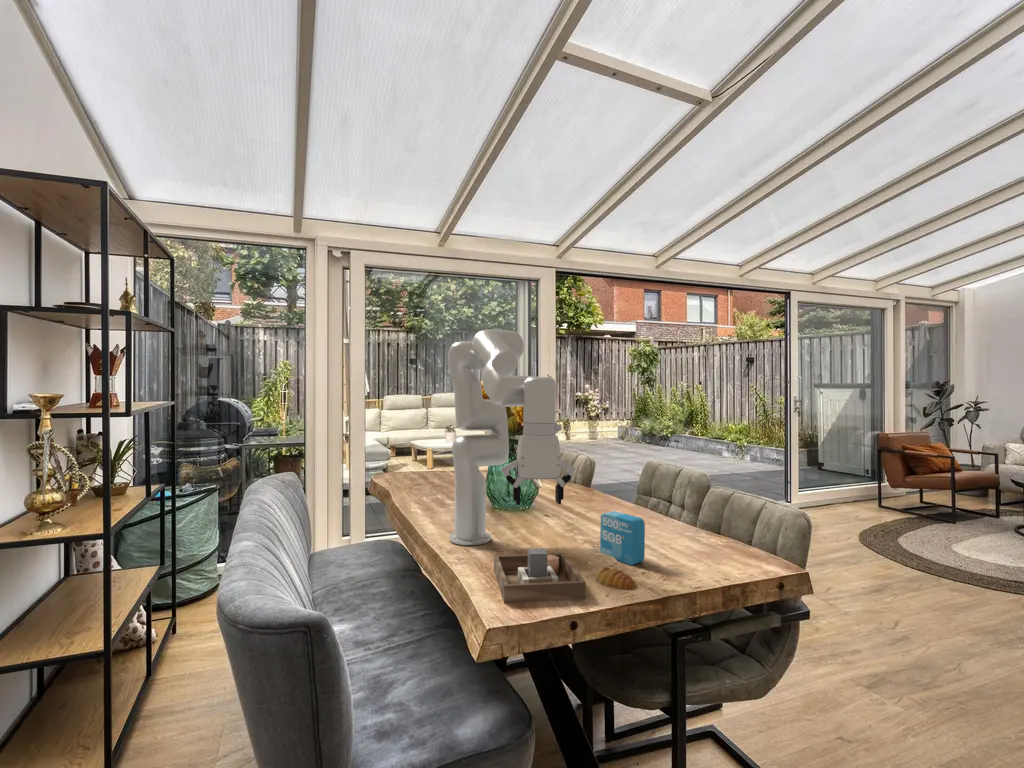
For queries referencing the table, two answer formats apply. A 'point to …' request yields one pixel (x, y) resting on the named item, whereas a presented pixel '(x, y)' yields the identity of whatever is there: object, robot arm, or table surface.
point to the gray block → (537, 562)
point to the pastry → (615, 579)
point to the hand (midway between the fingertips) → (538, 503)
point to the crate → (537, 581)
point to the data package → (622, 537)
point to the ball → (553, 563)
